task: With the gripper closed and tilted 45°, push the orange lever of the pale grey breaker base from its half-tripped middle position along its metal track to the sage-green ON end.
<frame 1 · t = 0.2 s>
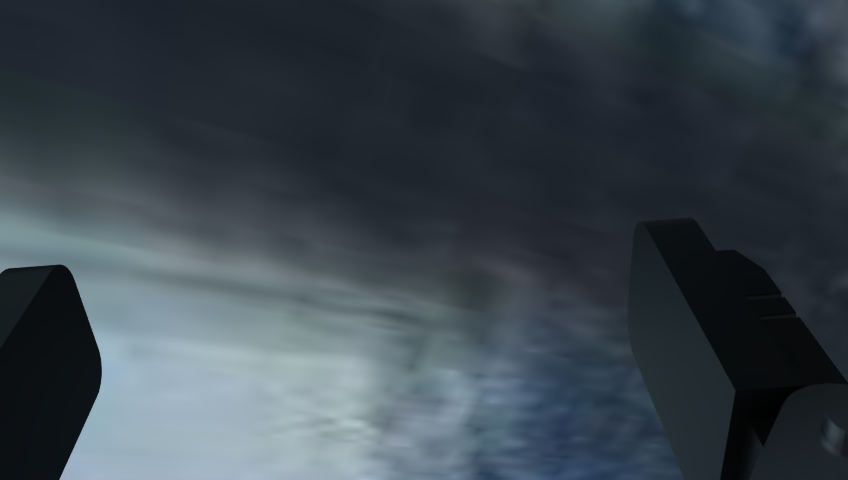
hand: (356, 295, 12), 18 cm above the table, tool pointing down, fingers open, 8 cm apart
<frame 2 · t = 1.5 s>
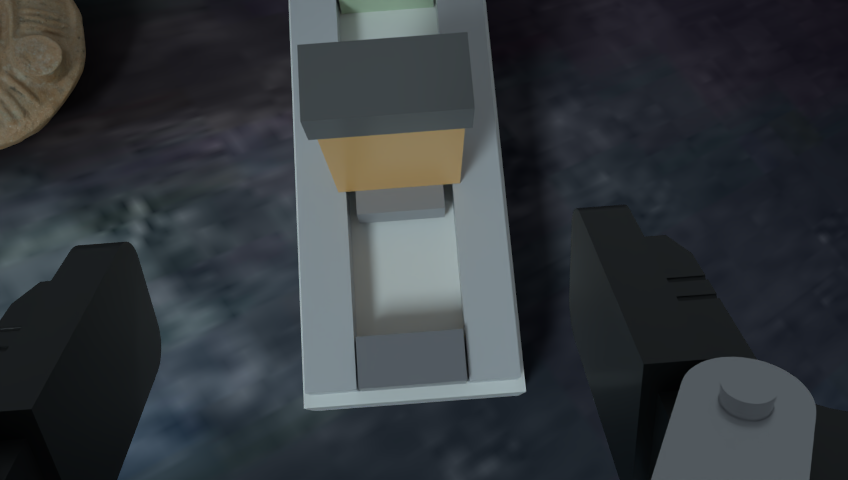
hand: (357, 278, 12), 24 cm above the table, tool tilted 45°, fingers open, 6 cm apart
breaker base: (401, 186, 38), on the table
breaker lever: (393, 133, 30), point 8 cm above the table, slide at 4.0 cm
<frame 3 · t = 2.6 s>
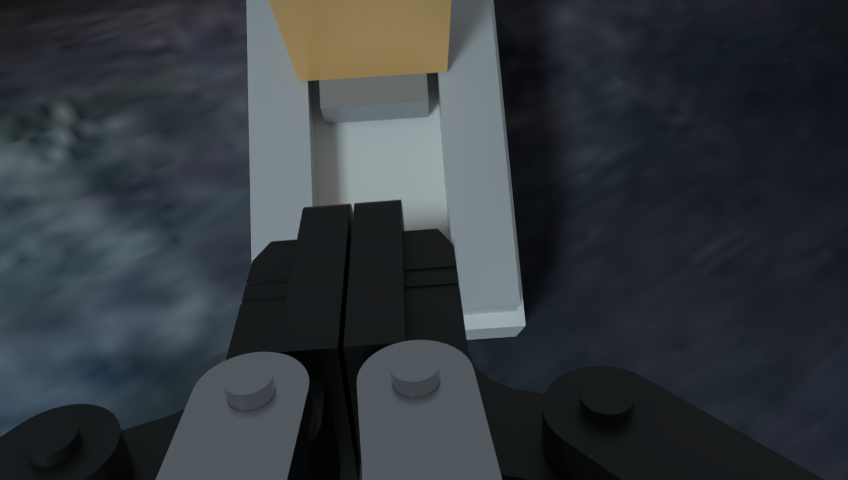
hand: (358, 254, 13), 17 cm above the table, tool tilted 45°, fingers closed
breaker base: (378, 91, 32), on the table
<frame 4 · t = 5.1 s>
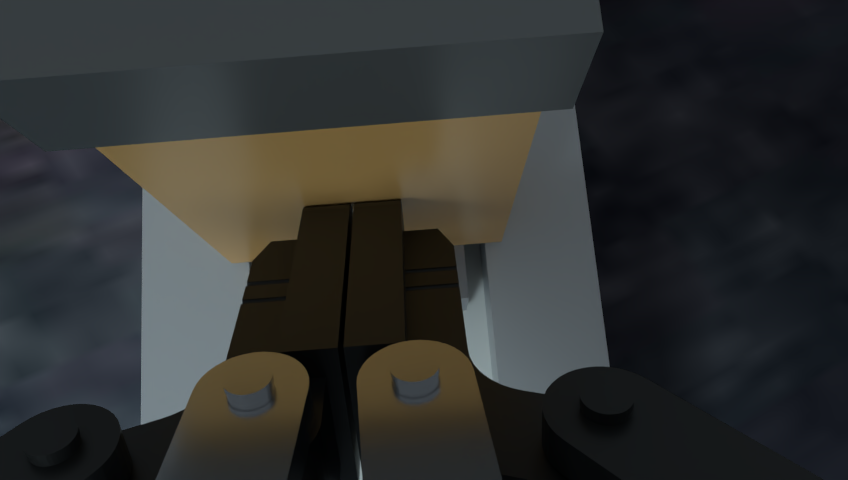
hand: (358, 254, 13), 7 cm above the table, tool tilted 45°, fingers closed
breaker base: (380, 243, 20), on the table
breaker lever: (341, 131, 12), point 8 cm above the table, slide at 4.2 cm, touching gripper
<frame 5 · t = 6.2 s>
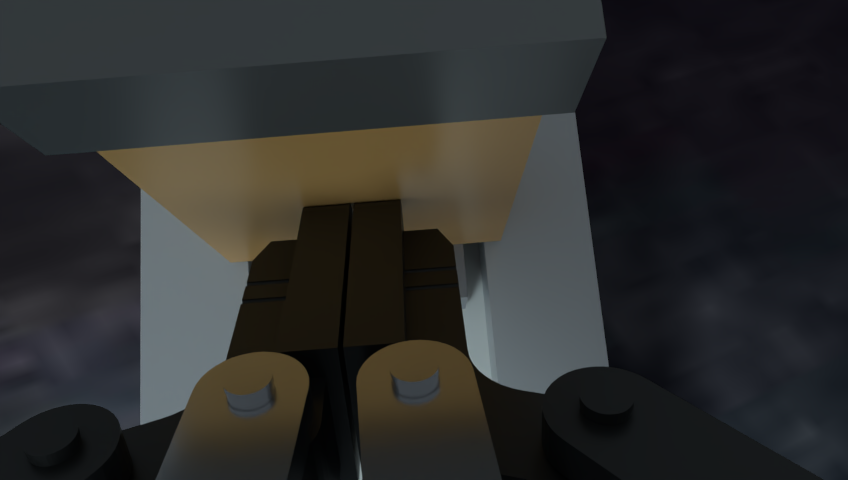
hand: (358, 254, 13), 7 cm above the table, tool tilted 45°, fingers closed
breaker base: (393, 453, 18), on the table
breaker lever: (340, 132, 12), point 8 cm above the table, slide at 9.2 cm, touching gripper
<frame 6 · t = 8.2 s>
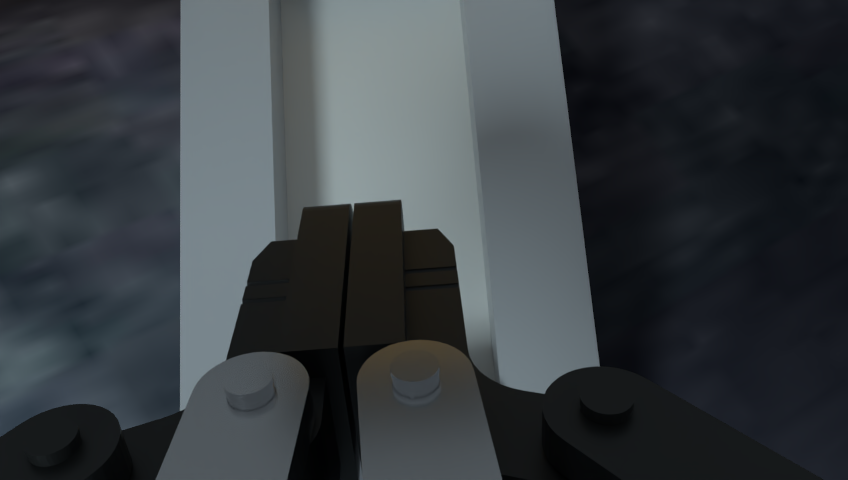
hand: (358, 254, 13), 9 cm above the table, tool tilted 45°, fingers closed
breaker base: (384, 132, 22), on the table
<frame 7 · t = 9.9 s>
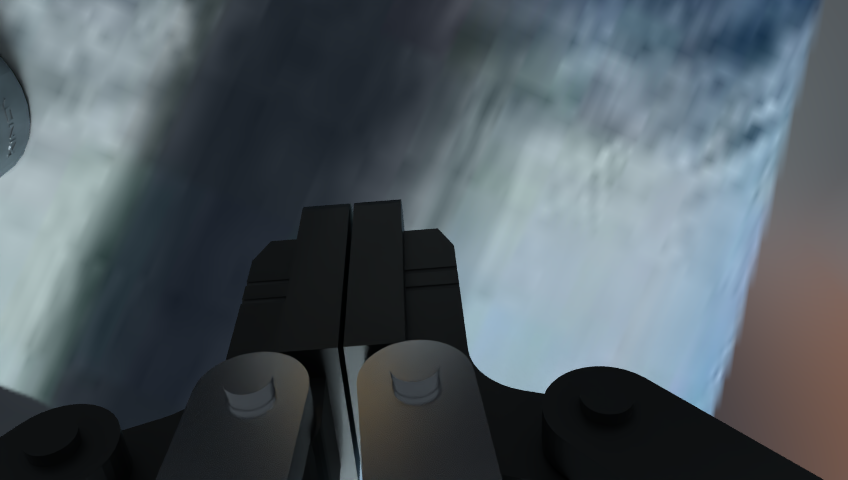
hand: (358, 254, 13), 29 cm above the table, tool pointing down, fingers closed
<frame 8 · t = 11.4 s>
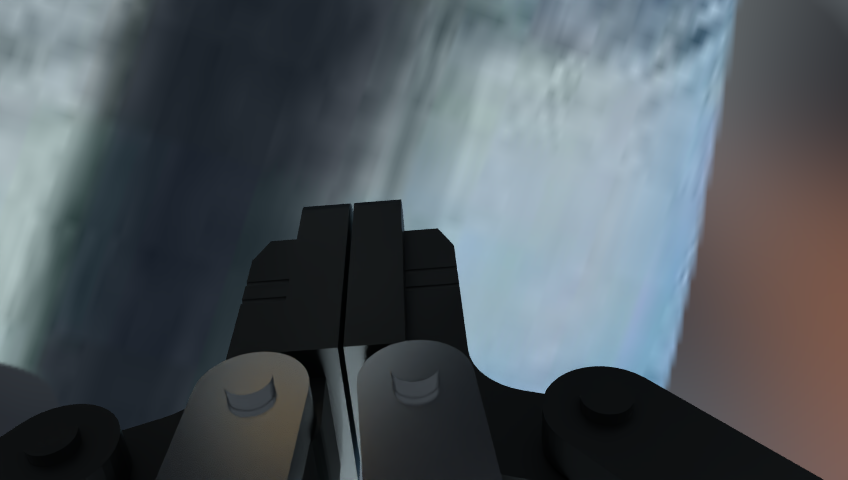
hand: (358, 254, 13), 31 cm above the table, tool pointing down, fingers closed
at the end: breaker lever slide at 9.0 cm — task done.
